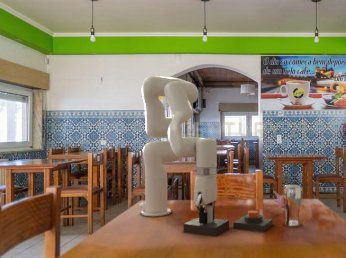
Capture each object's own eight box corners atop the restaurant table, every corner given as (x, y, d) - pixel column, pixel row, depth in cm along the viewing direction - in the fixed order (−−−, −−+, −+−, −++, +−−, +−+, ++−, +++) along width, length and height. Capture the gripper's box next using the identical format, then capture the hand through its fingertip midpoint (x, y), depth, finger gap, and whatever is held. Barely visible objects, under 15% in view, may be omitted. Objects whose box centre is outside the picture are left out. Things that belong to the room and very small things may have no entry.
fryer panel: (183, 232, 127) (183, 223, 127) (199, 224, 137) (199, 216, 137) (215, 236, 122) (215, 227, 122) (229, 228, 132) (229, 219, 132)
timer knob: (209, 223, 127) (209, 207, 127) (198, 222, 129) (198, 206, 129) (214, 221, 131) (214, 205, 131) (204, 219, 133) (204, 204, 133)
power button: (246, 217, 133) (246, 212, 133) (250, 215, 137) (250, 210, 137) (256, 218, 132) (256, 213, 132) (260, 216, 135) (260, 211, 135)
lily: (295, 221, 146) (302, 199, 149) (268, 210, 146) (276, 188, 149) (287, 222, 157) (294, 202, 161) (263, 212, 157) (270, 192, 160)
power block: (233, 228, 132) (233, 217, 132) (243, 221, 141) (243, 211, 141) (263, 231, 127) (263, 220, 127) (272, 224, 136) (272, 214, 136)
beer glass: (301, 227, 132) (300, 187, 132) (282, 226, 134) (282, 187, 134) (301, 222, 139) (301, 184, 139) (283, 222, 141) (283, 184, 141)
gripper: (208, 168, 139) (208, 215, 139) (185, 174, 123) (185, 226, 123) (225, 169, 136) (226, 217, 136) (204, 175, 120) (204, 228, 120)
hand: (206, 221), depth 130 cm, fingers closed on fryer panel, timer knob, 4 cm apart
